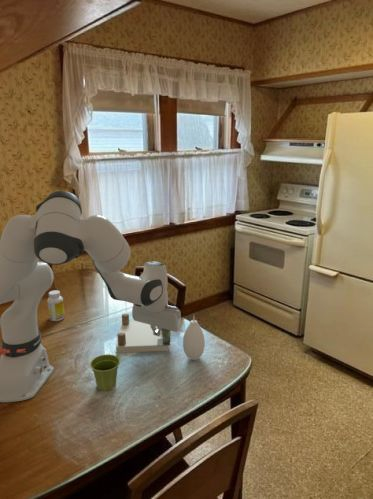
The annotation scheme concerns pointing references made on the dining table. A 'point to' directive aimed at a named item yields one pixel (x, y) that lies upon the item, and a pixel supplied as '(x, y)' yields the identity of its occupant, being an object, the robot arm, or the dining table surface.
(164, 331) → the swing leg
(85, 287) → the dining table surface
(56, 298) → the supplement bottle
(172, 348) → the dining table surface
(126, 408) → the dining table surface
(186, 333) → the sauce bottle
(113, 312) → the dining table surface
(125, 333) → the stool seat
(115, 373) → the plant pot
